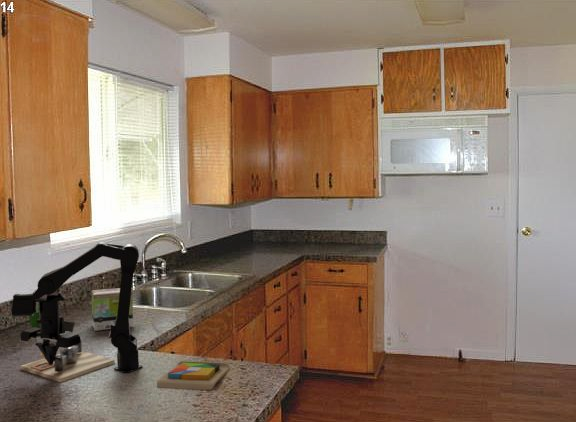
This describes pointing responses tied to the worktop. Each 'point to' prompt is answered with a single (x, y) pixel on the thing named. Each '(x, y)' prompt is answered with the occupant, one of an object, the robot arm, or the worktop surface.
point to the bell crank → (66, 356)
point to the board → (70, 367)
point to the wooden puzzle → (194, 375)
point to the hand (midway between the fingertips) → (51, 364)
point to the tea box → (107, 308)
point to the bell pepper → (35, 319)
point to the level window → (42, 366)
